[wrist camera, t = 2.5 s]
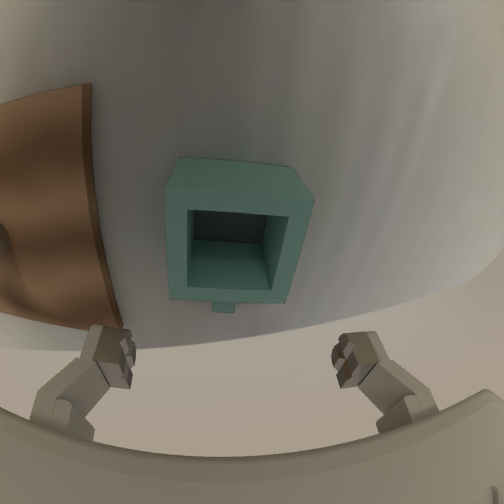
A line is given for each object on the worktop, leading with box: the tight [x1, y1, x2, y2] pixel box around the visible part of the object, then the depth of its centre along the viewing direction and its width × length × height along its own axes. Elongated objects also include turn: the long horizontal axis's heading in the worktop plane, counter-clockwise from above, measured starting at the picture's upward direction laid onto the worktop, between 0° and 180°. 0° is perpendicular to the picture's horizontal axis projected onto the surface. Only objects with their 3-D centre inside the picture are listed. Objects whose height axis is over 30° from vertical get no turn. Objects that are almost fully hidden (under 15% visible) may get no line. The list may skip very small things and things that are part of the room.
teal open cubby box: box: [165, 158, 314, 313], centre depth 16 cm, size 10×7×5 cm, turn 172°
